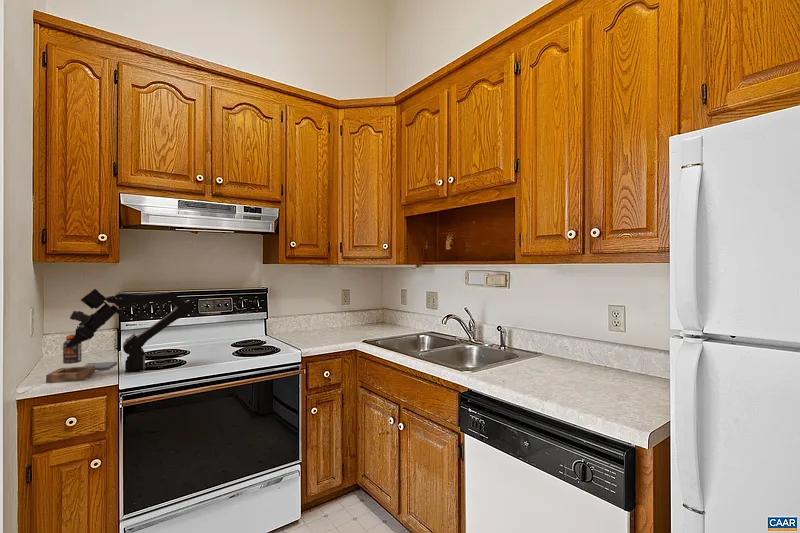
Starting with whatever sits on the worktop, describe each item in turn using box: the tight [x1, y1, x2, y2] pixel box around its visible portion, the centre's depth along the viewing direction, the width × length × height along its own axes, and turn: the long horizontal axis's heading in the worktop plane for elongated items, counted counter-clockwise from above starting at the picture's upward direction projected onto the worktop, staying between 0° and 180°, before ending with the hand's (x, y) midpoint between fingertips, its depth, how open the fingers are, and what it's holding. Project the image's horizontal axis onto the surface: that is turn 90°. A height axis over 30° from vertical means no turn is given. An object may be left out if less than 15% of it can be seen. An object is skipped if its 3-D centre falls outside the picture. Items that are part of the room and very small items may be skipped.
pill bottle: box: [62, 333, 83, 365], centre depth 168 cm, size 6×6×11 cm
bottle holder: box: [45, 366, 96, 384], centre depth 167 cm, size 12×12×3 cm
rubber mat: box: [82, 361, 118, 371], centre depth 184 cm, size 11×11×1 cm
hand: (67, 345), depth 167 cm, fingers closed on pill bottle, 6 cm apart
